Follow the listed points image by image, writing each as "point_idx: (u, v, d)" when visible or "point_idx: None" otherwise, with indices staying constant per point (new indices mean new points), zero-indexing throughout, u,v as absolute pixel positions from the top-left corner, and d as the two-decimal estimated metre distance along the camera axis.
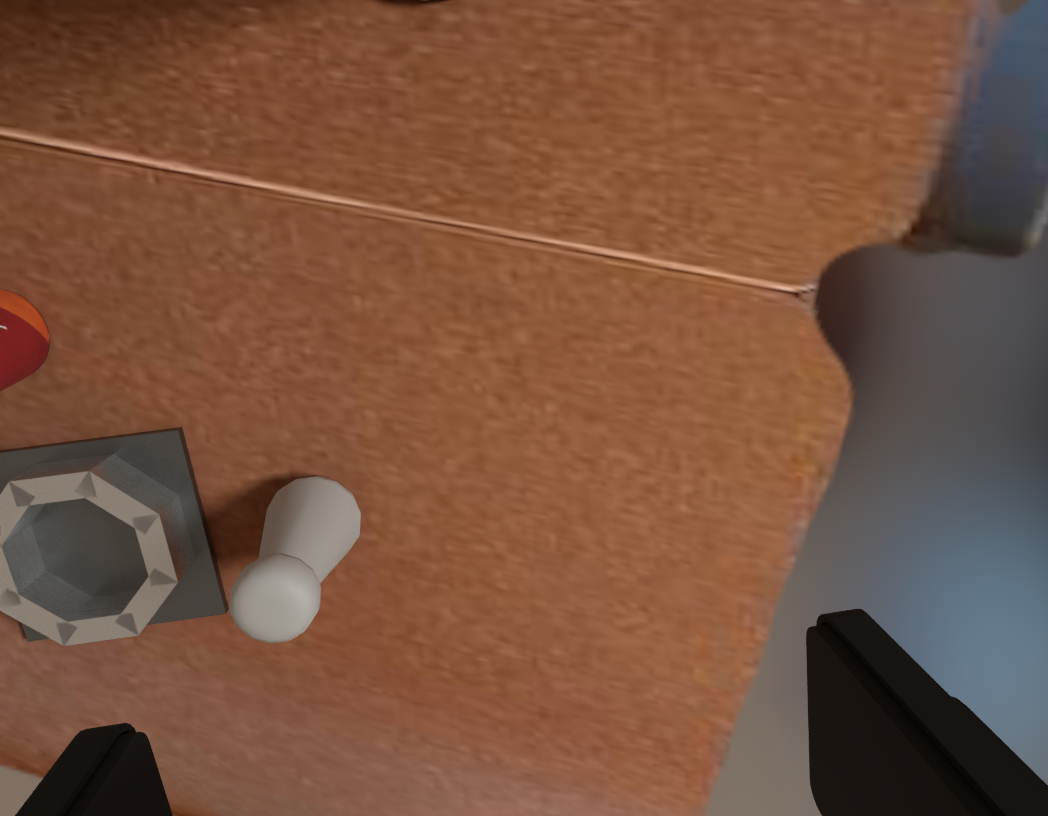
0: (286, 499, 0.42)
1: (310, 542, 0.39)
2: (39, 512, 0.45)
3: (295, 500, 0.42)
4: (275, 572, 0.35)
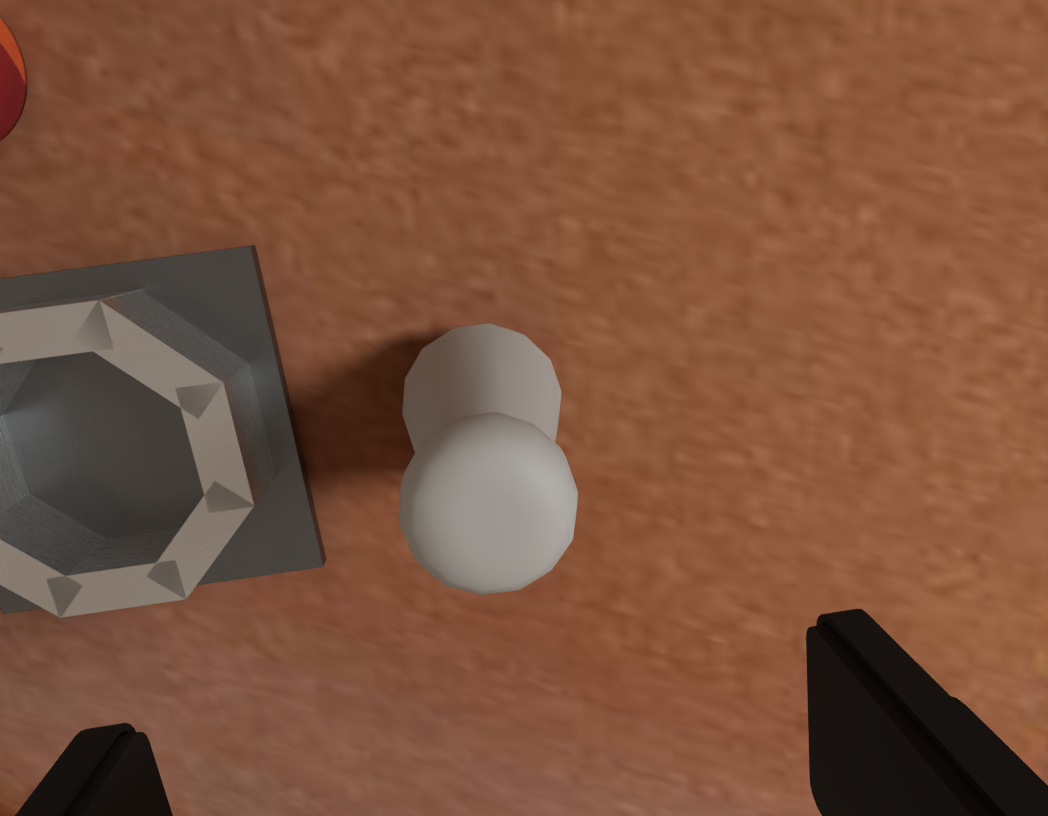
0: (450, 350, 0.24)
1: (524, 408, 0.20)
2: (16, 393, 0.27)
3: (468, 350, 0.23)
4: (504, 438, 0.16)
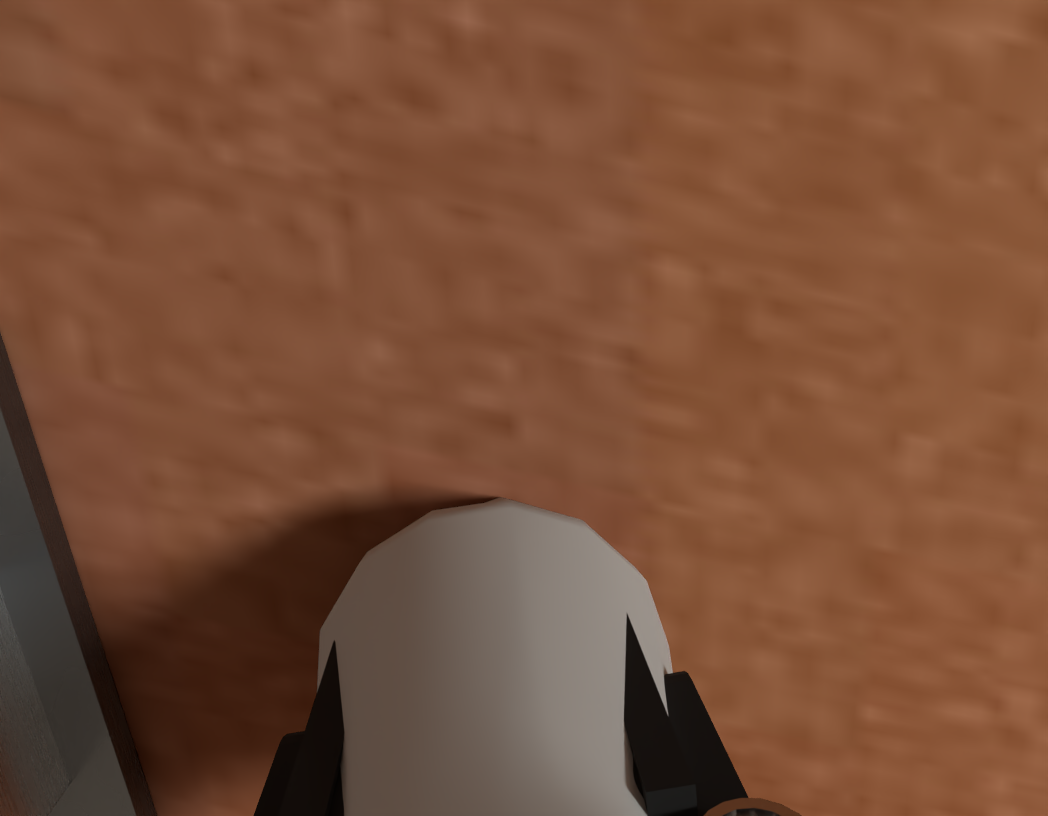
0: (417, 609, 0.09)
1: None
2: None
3: (462, 618, 0.09)
4: None
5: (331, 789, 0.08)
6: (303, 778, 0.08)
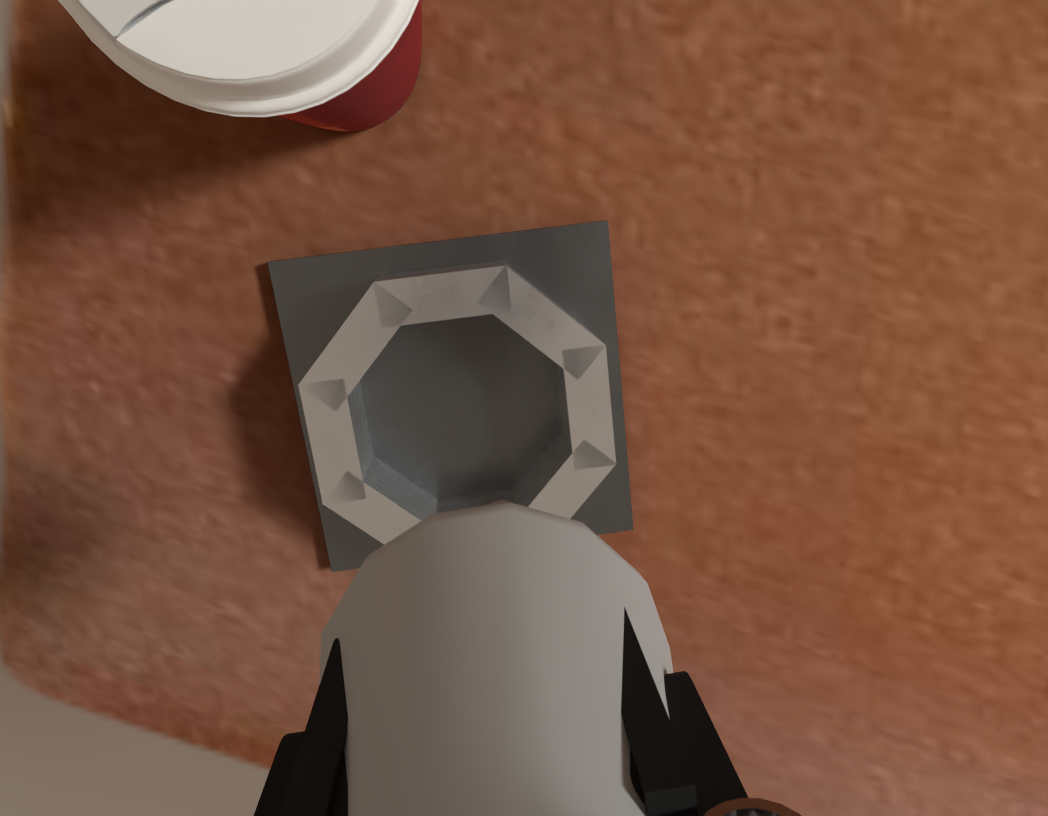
0: (419, 612, 0.09)
1: None
2: (375, 358, 0.28)
3: (464, 622, 0.09)
4: None
5: (331, 789, 0.08)
6: (303, 778, 0.08)
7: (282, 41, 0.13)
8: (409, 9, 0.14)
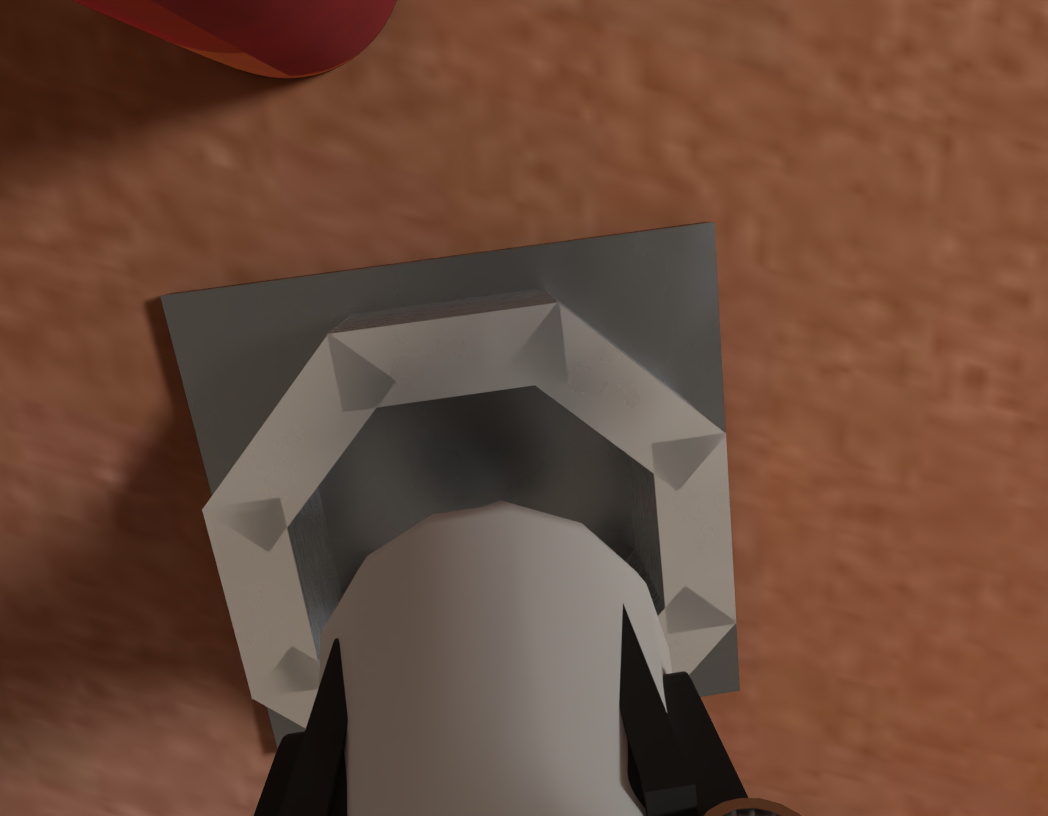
0: (418, 612, 0.09)
1: None
2: None
3: (462, 622, 0.09)
4: None
5: (331, 790, 0.08)
6: (303, 778, 0.08)
7: None
8: None
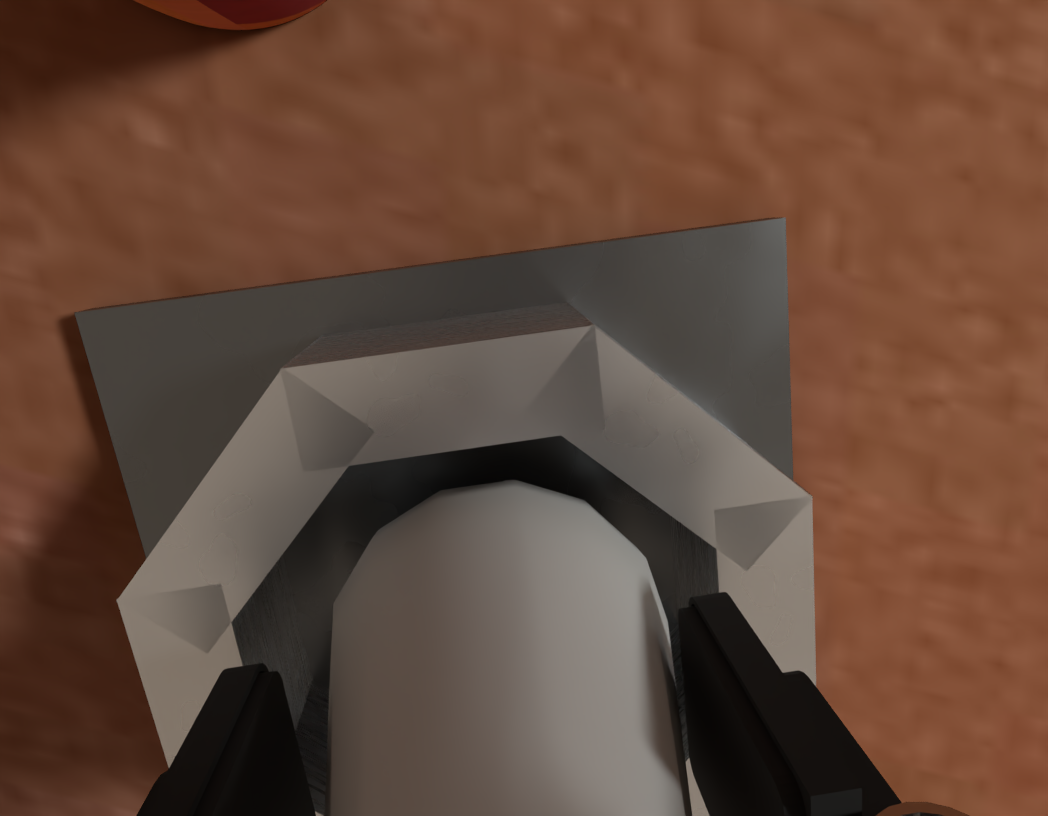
0: (427, 579, 0.10)
1: None
2: None
3: (469, 587, 0.10)
4: None
5: None
6: None
7: None
8: None
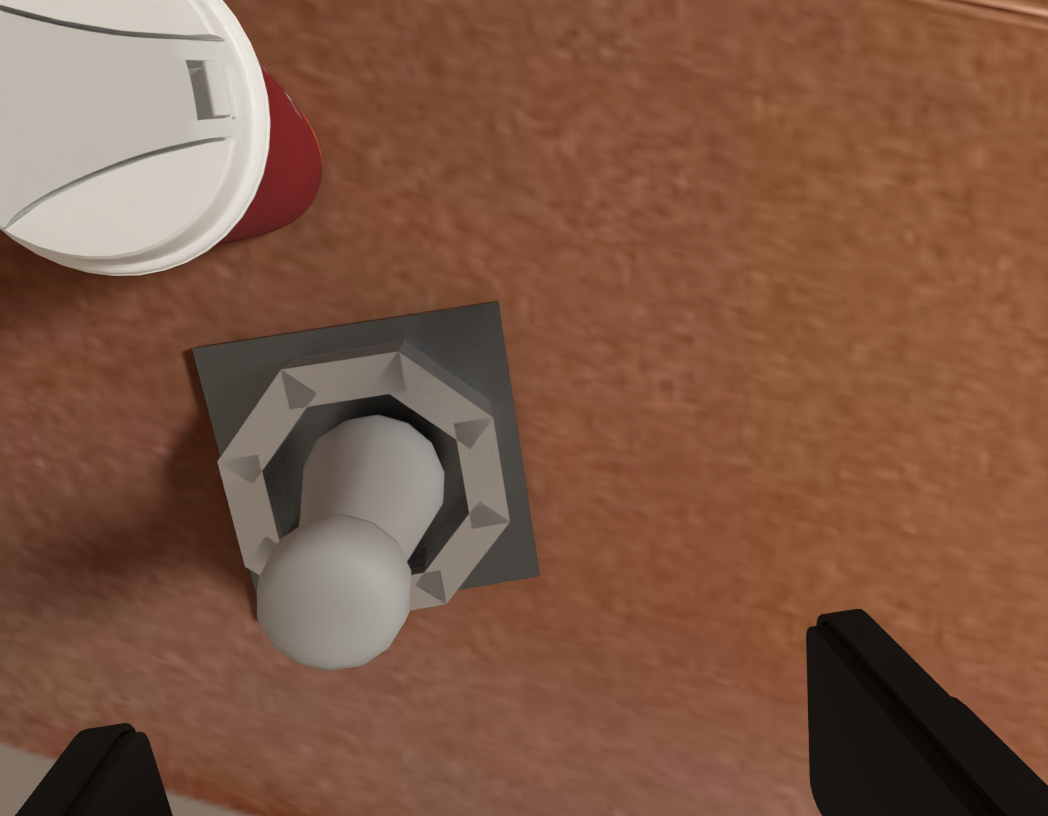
0: (336, 444, 0.27)
1: (383, 502, 0.24)
2: (294, 430, 0.31)
3: (350, 444, 0.27)
4: (338, 542, 0.19)
5: None
6: None
7: (141, 226, 0.16)
8: (252, 187, 0.17)
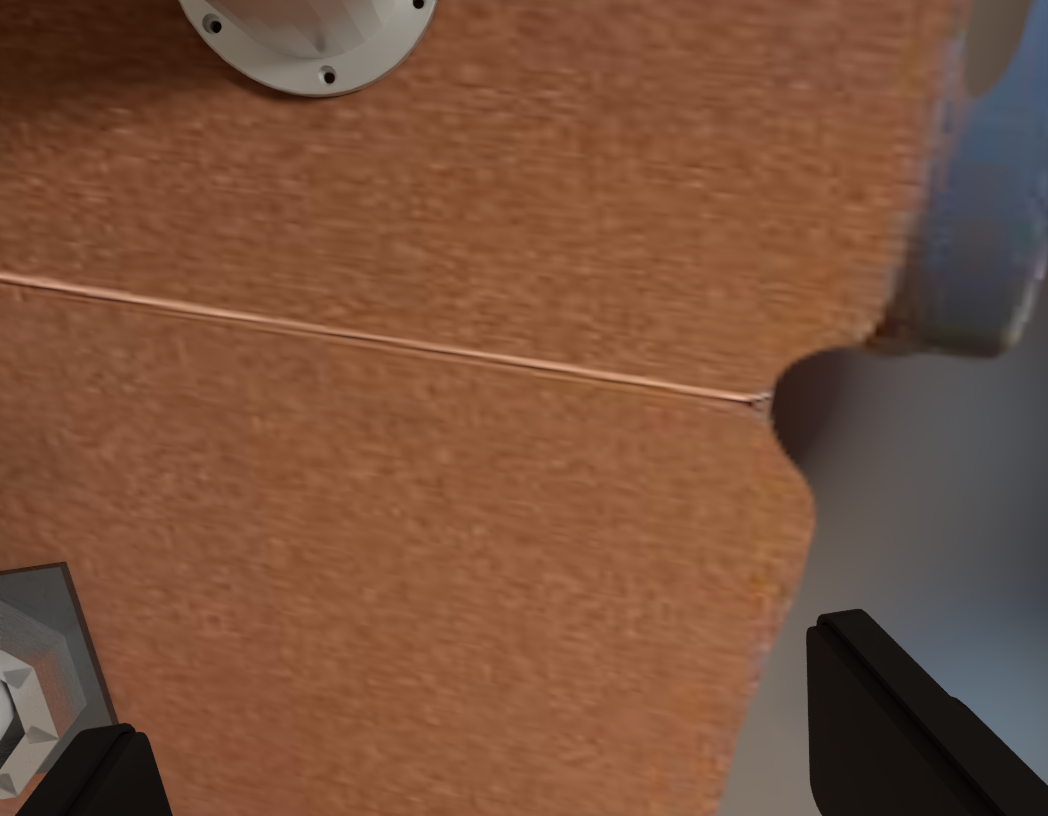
0: None
1: None
2: None
3: None
4: None
5: None
6: None
7: None
8: None
